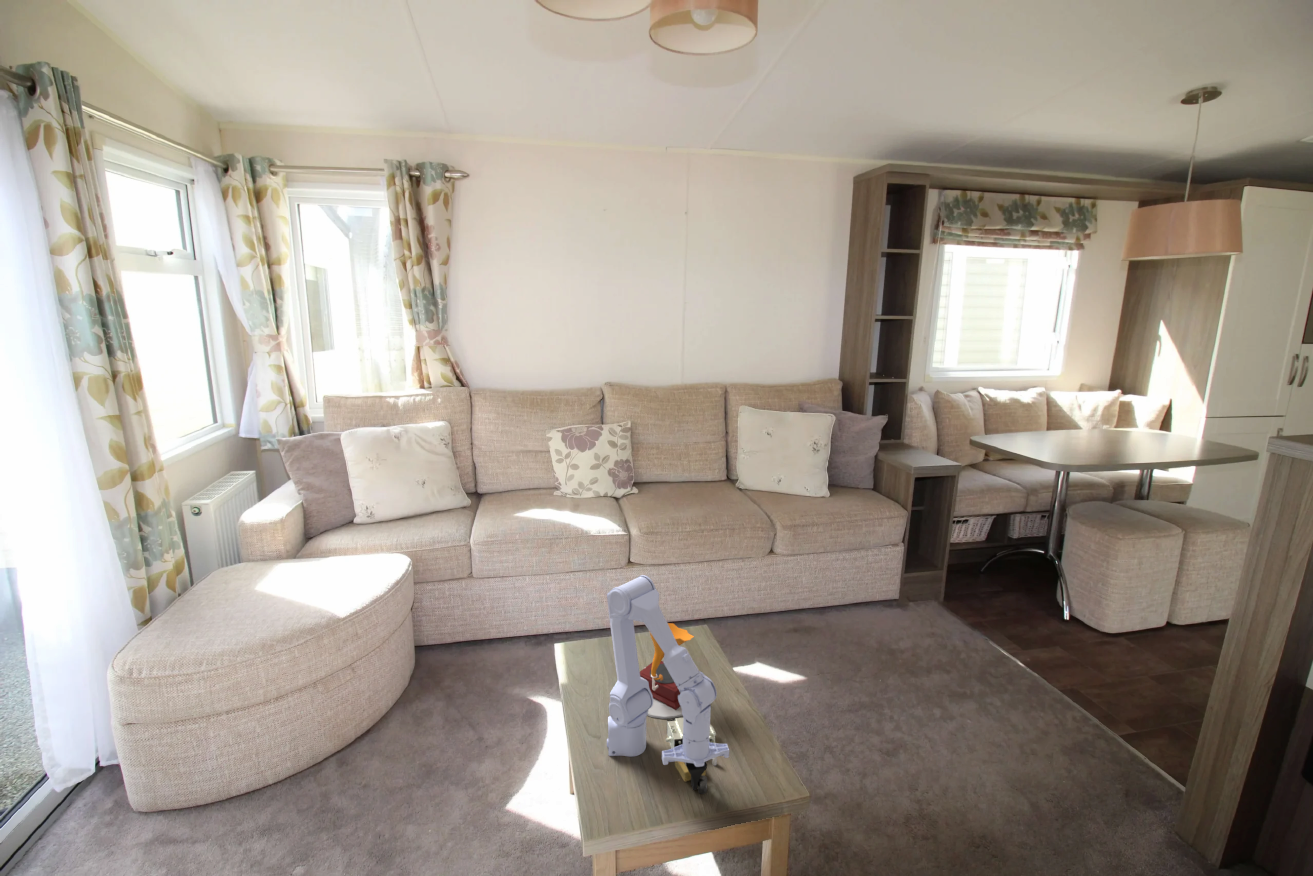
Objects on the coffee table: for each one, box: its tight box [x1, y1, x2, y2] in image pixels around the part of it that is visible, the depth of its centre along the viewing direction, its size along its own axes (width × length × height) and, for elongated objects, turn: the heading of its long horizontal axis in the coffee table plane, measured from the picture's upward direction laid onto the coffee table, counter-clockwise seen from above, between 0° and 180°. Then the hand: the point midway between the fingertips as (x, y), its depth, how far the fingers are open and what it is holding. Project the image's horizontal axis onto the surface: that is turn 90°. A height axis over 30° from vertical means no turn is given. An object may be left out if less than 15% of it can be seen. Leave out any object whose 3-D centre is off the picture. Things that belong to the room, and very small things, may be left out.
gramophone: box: [639, 622, 695, 720], centre depth 162 cm, size 20×20×25 cm
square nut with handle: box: [674, 761, 708, 795], centre depth 135 cm, size 5×10×3 cm, turn 23°
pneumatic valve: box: [665, 716, 717, 749], centre depth 146 cm, size 6×12×12 cm
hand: (694, 786), depth 132 cm, fingers closed, pressing on square nut with handle
